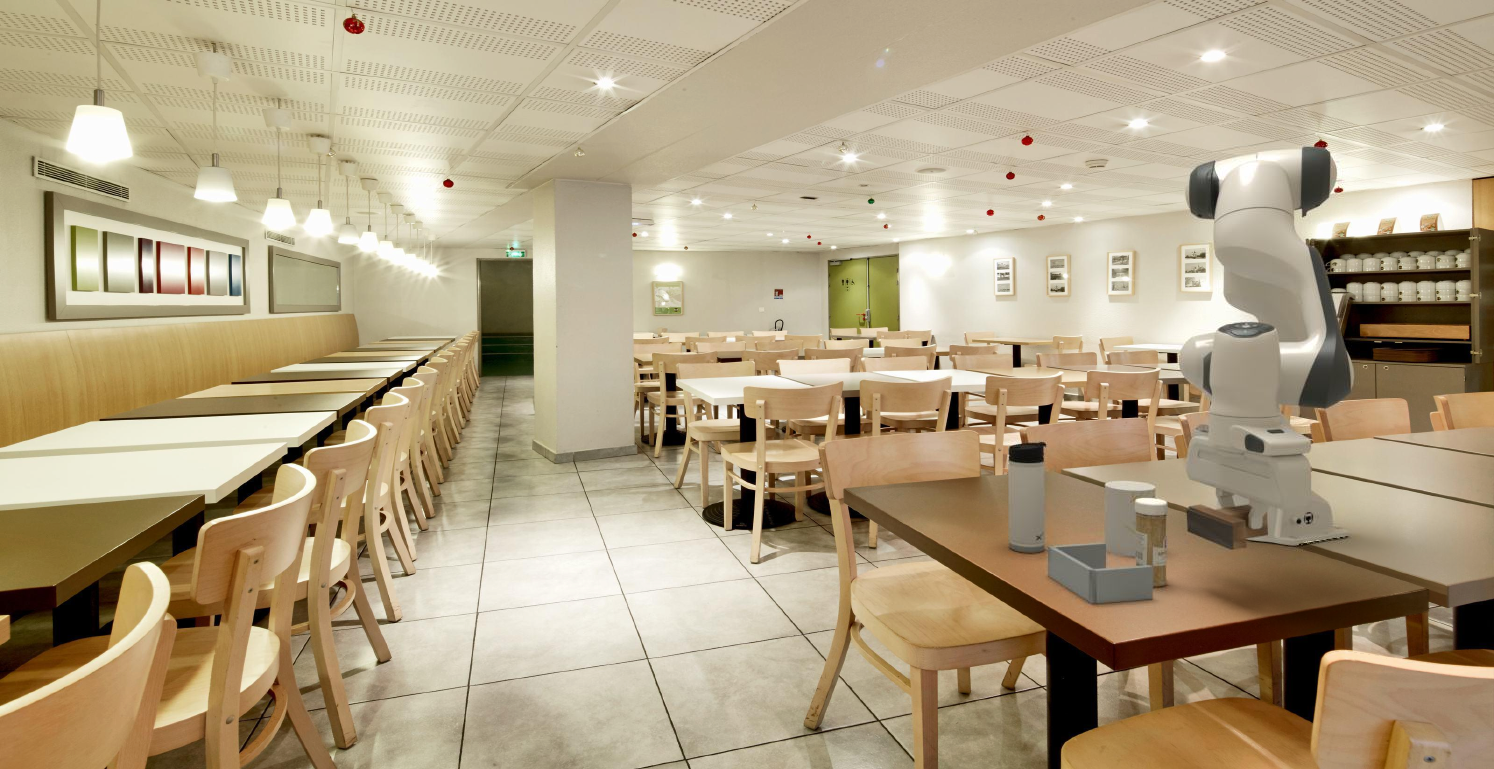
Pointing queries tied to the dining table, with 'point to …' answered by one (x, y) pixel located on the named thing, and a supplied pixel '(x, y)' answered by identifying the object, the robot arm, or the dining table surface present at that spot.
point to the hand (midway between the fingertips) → (1241, 523)
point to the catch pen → (1098, 574)
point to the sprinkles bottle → (1151, 536)
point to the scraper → (1223, 525)
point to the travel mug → (1026, 497)
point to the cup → (1123, 515)
